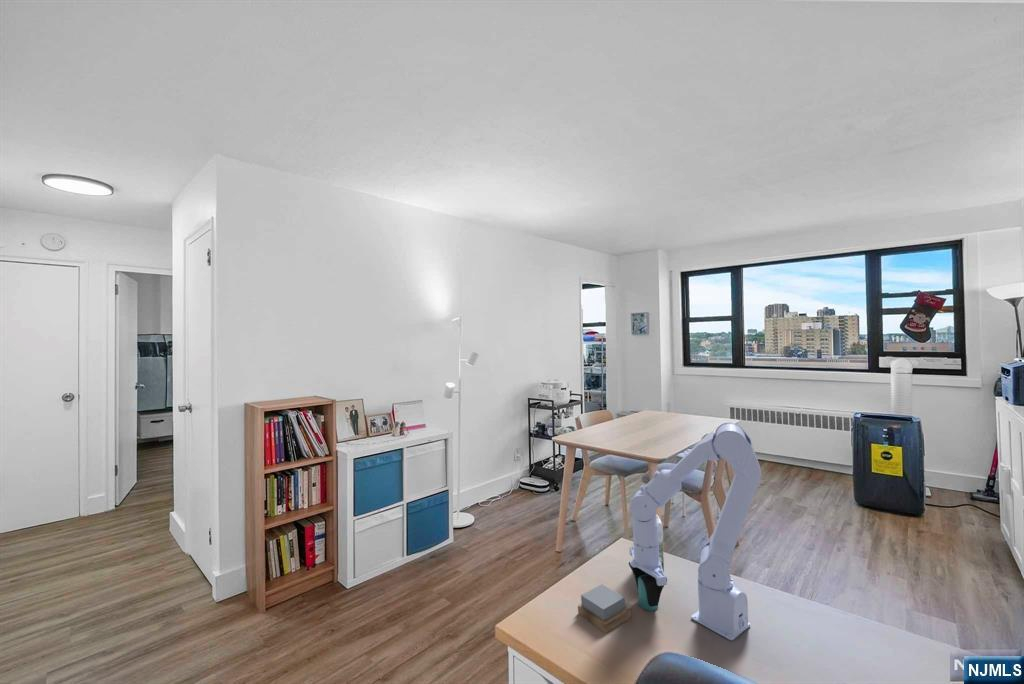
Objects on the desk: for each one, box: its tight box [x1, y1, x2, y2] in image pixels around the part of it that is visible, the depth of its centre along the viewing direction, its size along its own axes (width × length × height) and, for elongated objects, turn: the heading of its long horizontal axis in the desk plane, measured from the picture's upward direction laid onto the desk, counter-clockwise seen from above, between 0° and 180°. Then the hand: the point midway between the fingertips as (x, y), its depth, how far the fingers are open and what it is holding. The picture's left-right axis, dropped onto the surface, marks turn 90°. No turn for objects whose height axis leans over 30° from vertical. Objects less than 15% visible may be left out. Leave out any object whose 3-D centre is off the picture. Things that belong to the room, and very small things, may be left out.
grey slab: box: [580, 584, 626, 621], centre depth 100 cm, size 7×7×2 cm
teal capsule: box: [637, 575, 659, 612], centre depth 103 cm, size 4×4×6 cm
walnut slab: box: [577, 603, 632, 634], centre depth 100 cm, size 8×8×2 cm
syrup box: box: [656, 514, 665, 573], centre depth 118 cm, size 6×6×14 cm
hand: (648, 598), depth 103 cm, fingers closed on teal capsule, 4 cm apart
